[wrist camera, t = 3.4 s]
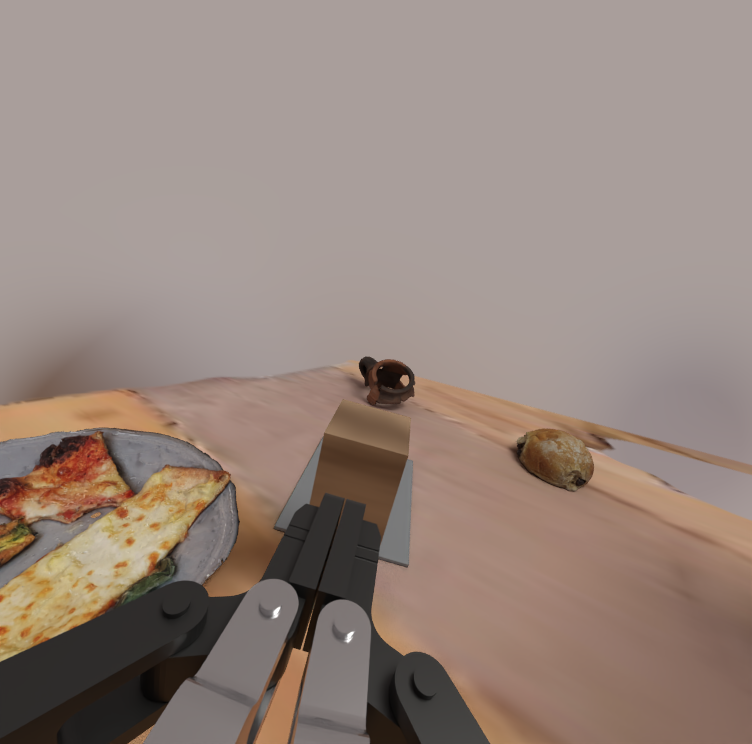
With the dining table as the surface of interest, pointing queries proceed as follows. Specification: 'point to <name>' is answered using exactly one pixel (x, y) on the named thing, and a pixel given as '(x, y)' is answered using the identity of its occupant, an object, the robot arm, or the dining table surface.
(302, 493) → the rubber mat
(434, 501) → the dining table surface
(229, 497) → the food plate
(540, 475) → the bread roll
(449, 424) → the dining table surface
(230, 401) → the dining table surface
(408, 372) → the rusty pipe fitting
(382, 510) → the walnut block
